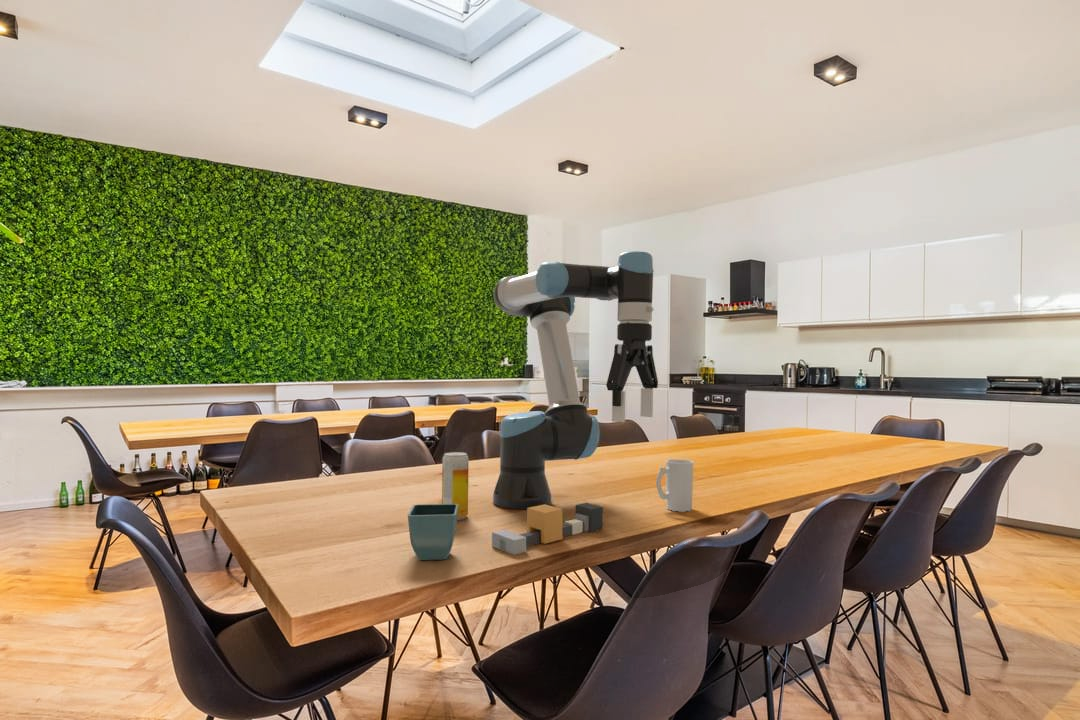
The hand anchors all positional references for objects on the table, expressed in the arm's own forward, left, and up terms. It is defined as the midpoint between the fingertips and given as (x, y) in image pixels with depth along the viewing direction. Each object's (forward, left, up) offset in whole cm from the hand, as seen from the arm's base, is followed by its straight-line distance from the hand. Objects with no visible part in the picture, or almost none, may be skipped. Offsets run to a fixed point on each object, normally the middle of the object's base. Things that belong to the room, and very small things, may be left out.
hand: (633, 419), depth 135 cm
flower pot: (-26, -36, -25) cm, 51 cm away
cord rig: (-12, -15, -24) cm, 31 cm away
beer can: (-40, -12, -25) cm, 48 cm away
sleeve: (-13, -17, -24) cm, 32 cm away
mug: (+3, +23, -25) cm, 33 cm away
